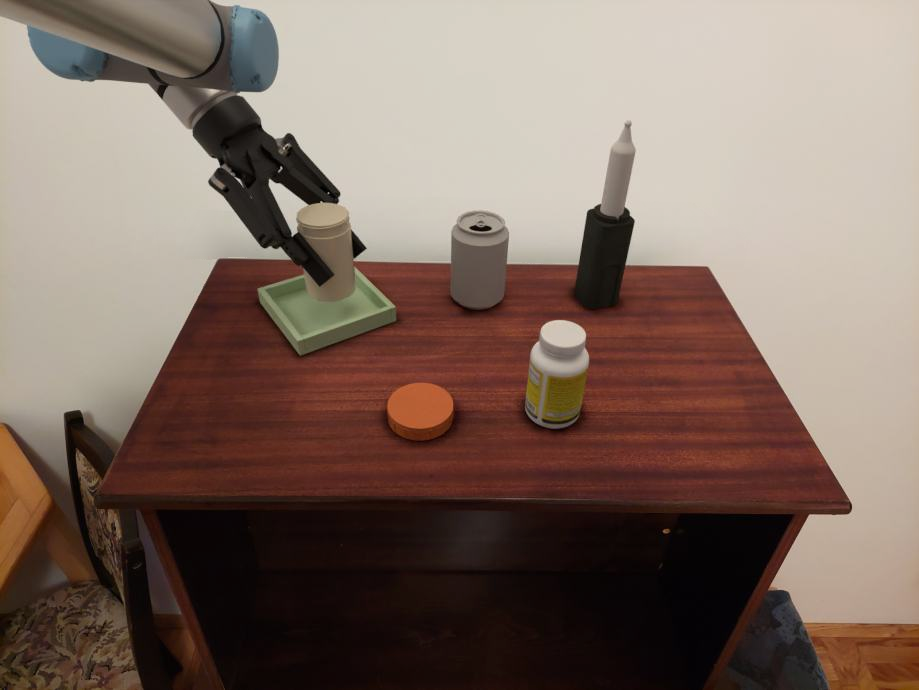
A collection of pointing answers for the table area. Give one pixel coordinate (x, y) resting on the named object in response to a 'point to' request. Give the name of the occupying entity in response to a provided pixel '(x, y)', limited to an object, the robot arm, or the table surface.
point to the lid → (420, 411)
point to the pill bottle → (557, 375)
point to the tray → (324, 313)
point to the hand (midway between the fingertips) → (343, 267)
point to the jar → (329, 249)
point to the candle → (607, 232)
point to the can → (479, 259)
